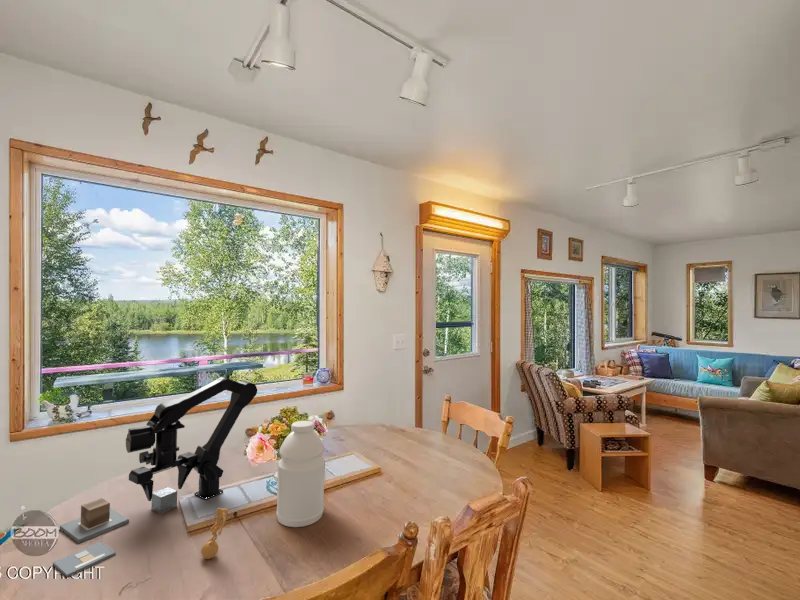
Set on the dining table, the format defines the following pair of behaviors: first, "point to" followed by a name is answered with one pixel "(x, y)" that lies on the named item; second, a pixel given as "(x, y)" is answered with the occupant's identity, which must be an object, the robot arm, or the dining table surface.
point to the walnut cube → (95, 513)
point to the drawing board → (83, 559)
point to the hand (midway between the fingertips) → (165, 494)
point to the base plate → (84, 533)
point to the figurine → (214, 535)
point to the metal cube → (164, 500)
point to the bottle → (300, 477)
